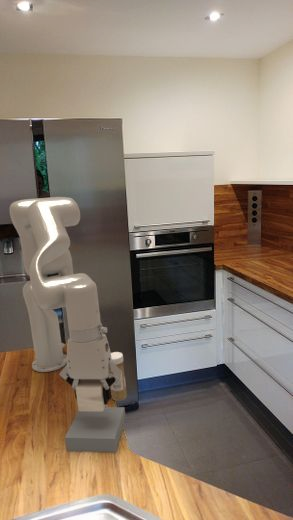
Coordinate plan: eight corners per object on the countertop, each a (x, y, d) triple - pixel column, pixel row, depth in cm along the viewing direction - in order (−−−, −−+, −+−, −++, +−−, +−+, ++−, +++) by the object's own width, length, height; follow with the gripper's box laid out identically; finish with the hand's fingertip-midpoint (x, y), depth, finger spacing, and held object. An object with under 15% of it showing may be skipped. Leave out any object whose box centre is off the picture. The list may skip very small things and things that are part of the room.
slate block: (82, 420, 96) (80, 406, 95) (125, 420, 94) (124, 407, 93) (66, 452, 84) (64, 437, 83) (116, 454, 82) (114, 438, 82)
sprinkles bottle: (129, 394, 105) (125, 352, 103) (122, 403, 101) (118, 359, 99) (115, 391, 107) (111, 350, 104) (108, 400, 103) (104, 357, 100)
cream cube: (86, 396, 90) (83, 375, 89) (109, 396, 90) (106, 375, 88) (78, 411, 85) (75, 388, 83) (102, 411, 84) (100, 388, 83)
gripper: (124, 325, 86) (131, 393, 89) (57, 327, 89) (66, 392, 92) (117, 338, 79) (125, 411, 82) (44, 339, 81) (54, 410, 85)
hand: (93, 400), depth 87 cm, fingers closed on cream cube, 6 cm apart
